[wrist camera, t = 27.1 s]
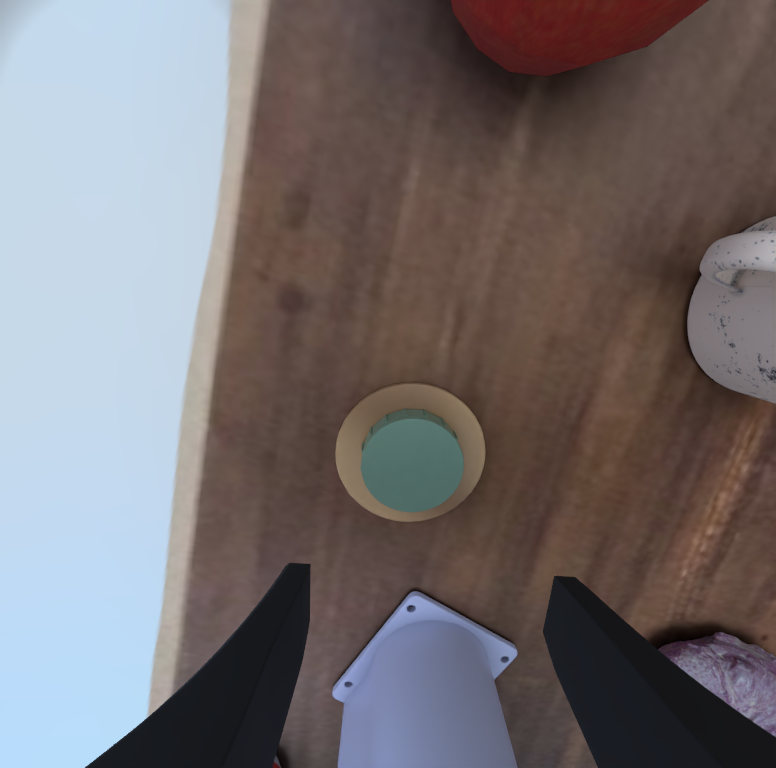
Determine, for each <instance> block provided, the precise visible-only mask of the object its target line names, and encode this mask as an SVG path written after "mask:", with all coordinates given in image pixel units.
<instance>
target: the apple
mask: <svg viewBox="0 0 776 768" xmlns="http://www.w3.org/2000/svg"><path fill="white" fill-rule="evenodd" d="M707 1H708V0H451V5H452V9H453V13H454V15H455V16H456V18H457V19H458V21H459V22H460V24H461V25H462V27H463V28H464V30H465V31H466V33H467V34H468V36H469V37H470V39H471V40H472V42H473V43H474V45H475V46H476V48H477V49H478V50H480V51H481V52H482V53H484V54H485V55H486V56H488V57H489V58H491V59H492V60H493V61H495V62H496V63H497V64H499V65H500V66H502V67H503V68H504V69H506V70H507V71H508V72H513V73H521V74H529V75H537V76H545V77H547V76H550V75H554V74H558V73H561V72H565V71H568V70H572V69H575V68H579V67H582V66H586V65H589V64H592V63H595V62H599V61H602V60H605V59H608V58H612V57H615V56H618V55H621V54H624V53H628V52H631V51H634V50H637V49H641V48H644V47H647V46H648V45H650V44H651V43H652V42H654V41H655V40H656V39H658V38H659V37H660V36H662V35H663V34H664V33H666V32H667V31H668V30H670V29H671V28H672V27H674V26H675V25H676V24H678V23H679V22H680V21H682V20H683V19H684V18H686V17H687V16H688V15H690V14H691V13H692V12H694V11H695V10H696V9H698V8H699V7H700V6H702V5H703V4H704V3H706V2H707Z"/></svg>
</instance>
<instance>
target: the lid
mask: <svg viewBox="0 0 776 768" xmlns="http://www.w3.org/2000/svg"><path fill="white" fill-rule="evenodd" d="M457 440H458V437H457V435H456V433H455V431H452V429H451V428H450V427H449V425H448V424H447V423H446V422H445V421H444V419H443V418H442V417H441V418H440V417H438V416H436V415H434V414H432V413H430V412H427V411H426V409H423V410H418V409H406V408H404V410H400V411H396V412H393V413H391V414H388V415H387V414H385V417H383V418H382V419H380V420H379V421H378V422H377V423H376V424H375V425H374V426H373V427H372V426H371V427H370V431H369V433H368V435H367V437H366V439H365V442H363V443H362V449H361V452H362V459H361V467H360V469H361V472H362V477H363V480H364V483H365V485H366V487H367V489H368V490H369V492H370V493H371V494H372V495H373V497H374V498H376V499H377V500H378V501H379V502H380V503H382V504H383V505H385V506H387V507H389V508H392V509H394V510H398V511H402V512H421V511H425V510H429V509H432V508H434V507H436V506H438V505H440V504H442V503H443V502H445V501H446V500H447V499H448V498H449V497H450V496H451V495H452V494H453V493H454V492H455V490H456V489H457V487H458V485H459V483H460V481H461V478H462V475H463V470H464V459H463V457H464V455H463V453H462V450H461V448H460V445H459V443H458V441H457Z"/></svg>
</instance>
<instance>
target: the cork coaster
mask: <svg viewBox="0 0 776 768" xmlns="http://www.w3.org/2000/svg"><path fill="white" fill-rule="evenodd" d="M404 408H406V409H418V410H423V409H426V411H427V412H430V413H432V414H434V415H436V416H438V417H440V418H441V417H442V418H443V419H444V421H445V422H446V423H447V424H448V425H449V427H450V428H451V429H452V431H455V433H456V435H457V437H458V440H457V441H458V443H459V445H460V448H461V450H462V453H463V455H464V457H463V459H464V470H463V475H462V478H461V481H460V483H459V485H458V487H457V489H456V490H455V492H454V493H453V494H452V495H451V496H450V497H449V498H448V499H447V500H446V501H445V502H443V503H442V504H440V505H438V506H436V507H434V508H432V509H429V510H425V511H421V512H402V511H398V510H394V509H392V508H389V507H387V506H385V505H383V504H382V503H380V502H379V501H378V500H377V499H376V498H374V497H373V495H372V494H371V493H370V492H369V490H368V489H367V487H366V485H365V483H364V480H363V477H362V472H361V469H360V467H361V459H362V452H361V449H362V443H363V442H365V439H366V437H367V435H368V433H369V431H370V427H371V426H372V427H373V426H374V425H375V424H376V423H377V422H378V421H379V420H380V419H382V418H383V417H385V414H387V415H388V414H391V413H393V412H396V411H400V410H404ZM485 452H486V450H485V440H484V436H483V432H482V429H481V427H480V424H479V423H478V421H477V419H476V417H475V415H474V414H473V413H472V411H471V410H470V409H469V407H468V406H467V405H466V404H465V403H464V402H463V401H462V400H460V399H459V398H458V397H456V396H455V395H454V394H452V393H450V392H449V391H447V390H445V389H442V388H440V387H437V386H435V385H431V384H427V383H419V382H403V383H396V384H392V385H388V386H385V387H382V388H380V389H378V390H375V391H374V392H372V393H370V394H368V395H367V396H366V397H364V398H363V399H362V400H360V401H359V402H358V403H357V404H356V405H355V406H354V407H353V408H352V410H351V411H350V412H349V413H348V415H347V416H346V418H345V420H344V422H343V423H342V426H341V428H340V431H339V434H338V438H337V442H336V450H335V456H336V465H337V470H338V473H339V476H340V479H341V481H342V483H343V485H344V487H345V488H346V490H347V491H348V492H349V494H350V495H351V496H352V497H353V498H354V499H355V501H357V502H358V503H359V504H360V505H361V506H362V507H364V508H365V509H367V510H368V511H370V512H372V513H374V514H376V515H378V516H381V517H383V518H386V519H390V520H395V521H403V522H416V521H424V520H428V519H432V518H435V517H438V516H441V515H443V514H445V513H447V512H449V511H451V510H452V509H454V508H455V507H457V506H458V505H459V504H460V503H461V502H463V501H464V500H465V499H466V498H467V497H468V496H469V494H470V493H471V492H472V490H473V489H474V488H475V486H476V484H477V483H478V481H479V479H480V476H481V474H482V471H483V467H484V462H485Z"/></svg>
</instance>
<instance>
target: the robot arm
mask: <svg viewBox="0 0 776 768" xmlns="http://www.w3.org/2000/svg"><path fill="white" fill-rule="evenodd" d="M409 605H413V607H409ZM309 622H310V564H299V563H289V564H288V565H287V566H285V568H284V569H283V571H282V572H281V574H280V575H279V577H278V578H277V580H276V581H275V582H274V584H273V585H272V586H271V588H270V589H269V591H268V592H267V593H266V594H265V596H264V597H263V598H262V600H261V601H260V602H259V603H258V605H257V606H256V607H255V608H254V610H253V611H252V612H251V613H250V615H249V616H248V617H247V618H246V620H245V621H244V622H243V623H242V624H241V625H240V627H239V628H238V629H237V630H236V631H235V632H234V633H233V634H232V636H231V637H230V638H229V639H228V640H227V641H226V642H225V643H224V645H223V646H222V647H221V648H220V649H219V650H218V651H217V652H216V653H215V654H214V655H213V656H212V658H211V659H210V660H209V661H208V662H207V663H206V664H205V665H204V666H203V667H202V668H201V669H200V670H199V671H198V672H197V673H196V674H195V675H194V676H193V677H192V678H191V679H190V680H189V681H188V682H186V683H185V684H184V685H183V686H182V687H181V688H180V689H179V690H178V691H177V692H176V693H175V694H173V695H172V696H171V697H170V698H169V699H168V700H167V701H166V702H165V703H164V704H162V705H161V706H160V707H159V708H158V709H157V710H156V711H155V712H153V713H152V714H151V715H150V716H149V717H148V718H147V719H145V720H144V721H143V722H142V723H141V724H139V725H138V726H137V727H136V728H135V729H133V730H132V731H131V732H130V733H128V734H127V735H126V736H124V737H123V738H122V739H121V740H119V741H118V742H117V743H116V744H114V745H113V746H112V747H111V748H109V749H108V750H107V751H106V752H104V753H103V754H102V755H101V756H99V757H98V758H97V759H96V760H94V761H93V762H92V763H90V764H89V765H88V766H86V767H85V768H273V764H274V760H275V756H276V752H277V749H278V745H279V742H280V738H281V735H282V731H283V728H284V724H285V721H286V717H287V714H288V710H289V707H290V703H291V700H292V696H293V693H294V689H295V685H296V682H297V678H298V675H299V671H300V668H301V664H302V660H303V655H304V650H305V645H306V639H307V633H308V628H309ZM543 633H544V637H545V640H546V643H547V647H548V650H549V653H550V656H551V659H552V662H553V665H554V668H555V671H556V674H557V676H558V678H559V681H560V683H561V685H562V687H563V690H564V692H565V694H566V697H567V699H568V701H569V703H570V706H571V708H572V710H573V712H574V715H575V717H576V719H577V721H578V724H579V726H580V728H581V730H582V733H583V735H584V737H585V739H586V742H587V744H588V746H589V748H590V751H591V753H592V755H593V757H594V760H595V762H596V764H597V766H598V768H776V737H775V736H774V735H772V734H771V733H769V732H767V731H766V730H764V729H763V728H761V727H760V726H759V725H757V724H756V723H754V722H753V721H751V720H750V719H748V718H747V717H745V716H744V715H743V714H741V713H740V712H738V711H737V710H736V709H734V708H733V707H731V706H730V705H729V704H727V703H726V702H725V701H723V700H722V699H720V698H719V697H718V696H716V695H715V694H714V693H712V692H711V691H709V690H708V689H707V688H705V687H704V686H703V685H701V684H700V683H699V682H698V681H696V680H695V679H694V678H692V677H691V676H690V675H689V674H687V673H686V672H685V671H684V670H682V669H681V668H680V667H679V666H677V665H676V664H675V663H674V662H672V661H671V660H670V659H669V658H667V657H666V656H665V655H664V654H663V653H661V652H660V651H659V650H658V649H657V648H655V647H654V646H653V645H652V644H651V643H649V642H648V641H647V640H646V639H645V638H644V637H642V636H641V635H640V634H639V633H638V632H637V631H635V630H634V629H633V628H632V627H631V626H630V625H629V624H627V623H626V622H625V621H624V620H623V619H622V618H621V617H620V616H618V615H617V614H616V613H615V612H614V611H613V610H612V609H611V608H610V607H608V606H607V605H606V604H605V603H604V602H603V601H602V600H601V599H599V598H598V597H597V596H596V595H595V594H594V593H593V592H592V591H591V590H589V589H588V588H587V587H586V586H585V585H584V584H583V583H581V582H580V581H579V580H578V579H577V578H575V577H564V576H554V580H553V585H552V590H551V595H550V600H549V605H548V610H547V614H546V619H545V624H544V629H543ZM517 653H518V652H517V649H516V647H515V645H514V644H513V643H511V642H509V641H507V640H505V639H504V638H502V637H500V636H498V635H496V634H495V633H493V632H491V631H489V630H487V629H486V628H484V627H482V626H480V625H478V624H476V623H475V622H473V621H471V620H469V619H467V618H466V617H464V616H462V615H460V614H458V613H457V612H455V611H453V610H451V609H449V608H448V607H446V606H444V605H442V604H440V603H439V602H437V601H435V600H433V599H431V598H429V597H428V596H426V595H424V594H422V593H420V592H418V591H414V592H411V593H410V594H409V595H408V596H407V597H406V598H405V599H404V601H403V602H402V603H401V604H400V606H399V607H398V608H397V609H396V610H395V612H394V613H393V614H392V615H391V617H390V618H389V619H388V620H387V622H386V623H385V624H384V625H383V626H382V628H381V629H380V630H379V631H378V633H377V634H376V635H375V636H374V637H373V639H372V640H371V641H370V642H369V644H368V645H367V646H366V647H365V649H364V650H363V651H362V652H361V653H360V655H359V656H358V657H357V658H356V660H355V661H354V662H353V663H352V664H351V666H350V667H349V668H348V669H347V671H346V672H345V673H344V674H343V676H342V677H341V678H340V679H339V680H338V682H337V683H336V684H335V685H334V687H333V692H332V695H333V697H334V698H335V699H337V700H339V701H341V702H343V703H344V709H343V719H342V729H341V739H340V749H339V759H338V768H518V767H517V763H516V760H515V756H514V752H513V749H512V745H511V741H510V737H509V734H508V730H507V726H506V723H505V719H504V715H503V712H502V708H501V704H500V700H499V697H498V693H497V689H496V686H495V682H494V680H495V679H496V677H497V676H498V675H499V674H500V673H501V672H502V671H503V670H504V669H505V668H506V667H507V666H508V665H509V664H510V663H511V662H512V661H513V660H514V658H515V657H516V656H517ZM503 656H505V657H503Z"/></svg>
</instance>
